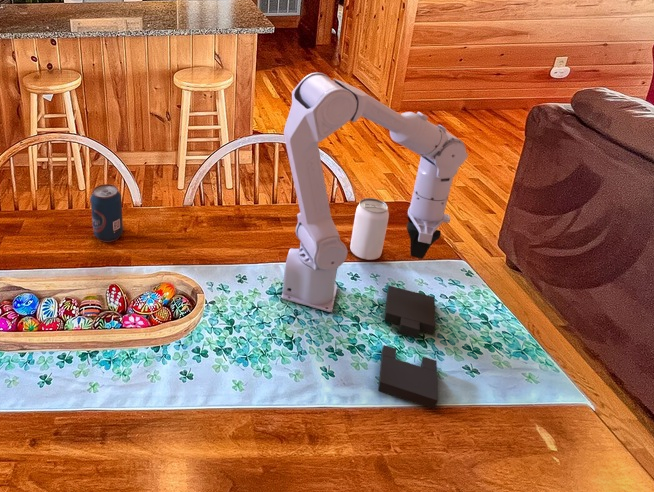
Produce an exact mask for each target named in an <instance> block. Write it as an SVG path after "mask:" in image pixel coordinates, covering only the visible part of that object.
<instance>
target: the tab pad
mask: <svg viewBox="0 0 654 492" xmlns="http://www.w3.org/2000/svg"><path fill="white" fill-rule="evenodd" d="M435 301H436V298H435V296H432V295H428V294H424V293H420V292H415V291H413V290H408V289H404V288H401V287H397V286H392V285H388V287H387V291H386V299H385V311H384V322H386V323H390V324H394V325H397V326H398V334H400V335H404V336H408V337H411V338H415V339H418V338H419V334H420V332H422V333H426V334H429V335H434V333H435V330H436V302H435Z"/></svg>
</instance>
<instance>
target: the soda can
mask: <svg viewBox="0 0 654 492" xmlns="http://www.w3.org/2000/svg"><path fill="white" fill-rule="evenodd" d="M122 205H123V204H122V194H121V193H120V192H119V188H118V187H117V186H116V185H114V184H109V183H106V184H104V183H103V184H100V185H97V186H95V187H94V188H93V190H92V193H91V195H90V208H91V219H92V220H91V221H92V230H93V235H94V236H95V237H96V238H97V240H98V241H101V242H102V243H103V242H104V243H111V242H114V241H117V240H118V239H120V237H121V235H122V234H123V232H124V221H123V220H124V219H123V206H122Z"/></svg>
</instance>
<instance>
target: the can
mask: <svg viewBox="0 0 654 492" xmlns="http://www.w3.org/2000/svg"><path fill="white" fill-rule="evenodd" d="M389 218H390V212H389V205H388V204H387V203H386V202H384V200H381V199H378V198H375V197H374V198H372V197H366V198H362V199H361V200H360V201H359V204H358V205H357V206H356V210H355V214H354V220H353V225H352V232H351V237H350V244H349V249H350V251H351V253H352V254H353V255H354V256H355V257H357V258H359V259H361V260H365V261H374V260H377V259H379V258H380V257H381V256H382V255H383V254H382V253H383V249H384V244H385V240H386V239H385V238H386V234H387V229H388V224H389Z"/></svg>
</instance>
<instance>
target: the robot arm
mask: <svg viewBox="0 0 654 492" xmlns="http://www.w3.org/2000/svg"><path fill="white" fill-rule="evenodd" d="M361 117H362V118H364V119H366V120H369V121H370V122H373V123H374V124H376V125H379V126H381V127H382V128H384V129H386V130H389V136H390V138H391V140H392V141H393V142H394V143H396V144H398V145H399V146H400V145H401V146H402V147H404V148H406V149H407V150H410V151H411V152H413V153H415V154H417V155H418V156H420V159H419V164H418V167H417V172H416V177H415V182H414V186H413V190H412V191H413V192H412V196H411V200H410V205H409V207H408V209H407V216H406V217H407V220H408V222H407V223H406V230H407V233H408V236H409V241H410V250H409V251H410V257H413V258H415V259H420V260H422V259H424V257H425V256H426V254H427V253H428V251H429V250H430V247H431V246H432V245H433V244H434V243H435V242H436V241H437V240H439V239H440V238H441V235H442V234H441V230H439V229H438V228H440V226H441V225H442V224H443V223H445V224H450V223H451V215H450V214H448V213H445V212H446V208H447V203H448V199H449V196H450V193H451V188H452V184H453V180H454V178H455V176H456V175H458V171H459V168H460V167H461V166H462V165H463V164H464V163H465V161H467V159H468V156H469V153H467V148H466V145H465V143H464V141H463V140H461V139H460V138H458V137H457V136H455V135H453V134H452V133H450V132H449V131H447V129H448V128H446V127H445V126H443V125H441V124H434V123H432V122H431V121H429V120H428V119H429V116H427V115H426V114H424V113H422V112H420V111H417V113H416V112H413V111H405V112H402V113H399V112H397V111H396V110H394V109H392V108H390V106H387V105H386V104H384V103H383V102H381V101H379V100H377V99H376V98H374V97H373V96H371V95H369V94H368V93H366V92H364V91H363V90H361V89H360V88H357V87H355V86H353V85H351V84H349V83H346V82H344V81H342V80H340V79H337V78H333V79H331V77H329V76H328V75H327V74H325V73H323V72H311V73H308V74H307V75H306V76H305V77H303V78H302V79H301V80H300V81H299V82H298V84H297V85H296V86H295V87H294V89H293V90H292V91H291V106H290V109H289V112H288V116H287V118H286V121H285V124H284V125H285V126H284V129H283V138H284V143H285V147H286V154H287V157H288V161H289V166H290V171H291V175H292V181H293V184H294V190H295V195H296V198H297V203H298V207H299V212H298V213H297V214H296V217H297V224H296V226H295V236H296V237H297V239H298V241H300V242H299V248H292V247H291V248H289V250H288V253H287V256H286V259H285V260H286V261H285V265H284V274H283V281H282V282H283V283H282V293H281V299H282V300H285V301H289V302H293V303H296V304H298V305H303V306H307V307H309V308H312V309H317V310H321V311H322V312H323V311H324V312H328V313H332V312H333V309H334V304H335V301H336V295H337V291H338V284H336V279H337V274H338V273H337V272H338V269H339V267H341V266H342V265H343V264H344V263H345V261H346V260H347V257H348V253H349V252H348V248H347V246H346V245H345V243H344V242H342V240H341V238H340V237H341V236H340V233H339V230H338V228H337V226H336V225H335V223H334V220H333V218H332V213H331V207H330V203H329V197H328V191H327V186H326V180H325V175H324V170H323V165H322V159H321V154H320V153H321V152H320V148H319V144H320V143H321V142H322V141H325V139H326V138H328V137H330V136H332V134H333V133H335V132H337V131H338V130H340V128H342V127H343V126H345V125H346V124H347V123H349V122H350V121H351V122H352V123H356V122H357V121H359V119H360V118H361Z"/></svg>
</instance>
